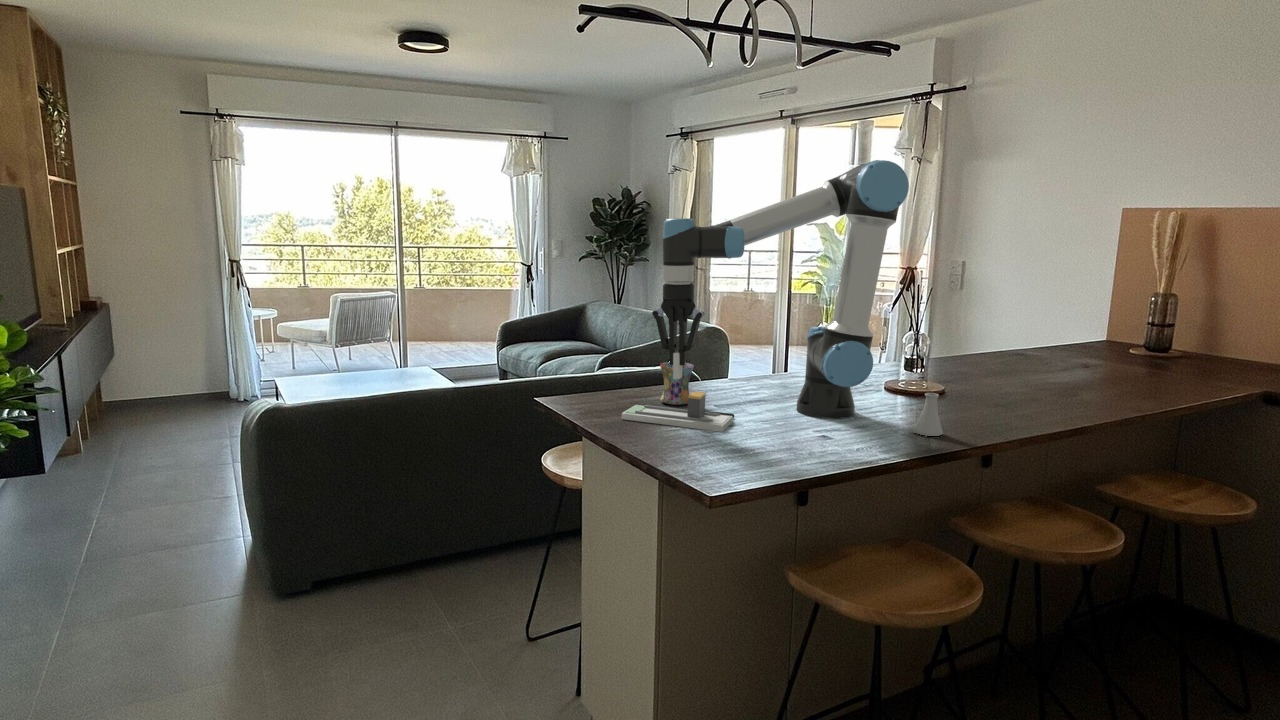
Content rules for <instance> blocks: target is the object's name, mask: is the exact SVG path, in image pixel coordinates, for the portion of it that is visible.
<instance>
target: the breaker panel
mask: <svg viewBox="0 0 1280 720" xmlns="http://www.w3.org/2000/svg"><path fill="white" fill-rule="evenodd" d="M666 407H667V406H659V407H658V405H649V404H645V405H643V406H642V404H641V405H640V404H635V405H634V406H633V405H632V406H631V407H630V408H628V409H626V410H624V411H623V412H621V420H626V421H635V422H641V423H642V422H643V423H649V424H650V423H651V424H659V425H666V426H675V427H680V428H681V427H683V428H690V429H698V430H707V431H714V432H721V433H723V432H724V431H725V430H726V429H728V427H729V426H730V425H731V424H732V423H733V419H734V418H733V416H726V415H720V414H717V413H709V412H705V415H704V416H702V417H701V418H693V417H687V414H688V410H683V409H684V408H680V409H675V408H676V407H670V408H666Z"/></svg>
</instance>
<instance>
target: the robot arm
mask: <svg viewBox="0 0 1280 720" xmlns="http://www.w3.org/2000/svg"><path fill="white" fill-rule="evenodd" d="M908 178H909V177H908V175H907V173H906V172H905V170H904V169H903V167H902V166H900V165H898V163H896V162H894V161H891V160H883V159H882V160H879V159H877V160H876V159H875V160H872V161H870V162H866V163H862V164H859V165H857V166H855V167H853V168H852V169H849V170H848V171H845V172H844V173H842V174H840V175H838V176H835V177H833V178H830V179H828V180H825V181H824V184H822V186H820V187H818V188H815V189H812V190H809V191H806V192H804V193H801V194H797V195H796V196H792V197H789V198H787V199H784V200H780V201H778V202H776V203H773V204H770V205H767V206H765V207H762V208H759V209H757V210H754V211H751V212H748V213H746V214H741V215H739V216H737V217H734V218H732V219H729V220H726V221H723V222H721V223H718V224H715V225H714V224H713V225H711V226H699V225H698V226H696V224H695V220H694V219H693V218H666V219H665V220H664V221H663V228H662V281H663V282H664V283H663V285H662V302H661V305H660V307H659V308H658V309H655V310H652V314H651V315H652V316H653V318H654V319H655V321H656V326H657V329H658V335H659V339H660V343H661V347H662V349H663V350H666V351H668V352H669V362H670V365H673V379H680V378H682V365H685V364H686V363H687V352H689V351H691V350H693V349H694V347H695V343H696V339H697V336H698V335H697V334H698V331H699V328H700V323H701V320H702V319H703V318H704V316H705V312H704V311H700V310H699V309H697V308H696V306H697V305H696V304H695V302H694V300H695V299H694V296H695V295H694V294H695V293H694V291H695V284H693V283H692V282H694V281H695V279H694V278H695V265H694V264H695V259H729V260H731V259H736V258H737V259H738V258H742V256H743V255H744V253H745V246H748V245H751V244H754V243H756V242H759V241H762V240H765V239H767V238H771V237H773V236H776V235H779V234H782V233H784V232H788V231H790V230H792V229H795V228H799V227H802V226H805V225H807V224H810V223H813V222H815V221H818V220H822V219H823V218H825V219H826V218H827V217H830V216H833V217H834V218H835V217H836V218H840V217H842V216H846V218H847V219H848V221H849V222H850V227H849V234H848V238H847V239H848V240H847V242H846V243H847V244H846V249H845V253H844V259H843V264H842V268H841V269H842V270H841V275H840V281H839V286H838V291H837V296H836V300H835V301H836V302H835V307H834V312H833V318H832V321H830V322H829V323H828V324H827V325H825V326H812V327H810V328H809V330H808V335H807V339H806V340H807V349H806V363H805V377H804V384H803V387H802V389H801V390H800V394H799V396H798V398H797V400H796V411H797V412H798V413H801V414H802V415H806V416H810V417H815V418H823V419H846V418H851V417H853V416H855V411H856V410H855V407H856V405H855V402H854V397H853V393H852V389H851V388H853V387H856V386H858V385H861V384H862V383H864V382H865V381H866V380H867V379H868V378H869V376H870V375H871V373H872V371H873V368H874V358H873V354H872V351H871V347H872V343H873V339H874V334H873V332H872V331H871V329H870V327H869V325H870V320H871V314H872V311H873V310H872V309H873V304H874V301H875V300H874V299H875V295H876V290H877V284H878V280H879V275H880V269H881V264H882V259H883V255H884V250H885V245H886V240H887V233H888V230H889V228H890V227H891V226H893V225H895V224H896V222H897V218H898V213H899V209H900V206H902V204H903V203H904V201H906V198H907V196H908V194H909V188H910V184H909V179H908ZM664 314H665V316H666V317H667V319H668V332H667V326H666V322H665V317H664ZM691 316H692V317H693V320H692V323H691V327H690V331H689V334H688V329H687V328H688V319H689V318H690V317H691ZM678 325H679V326H678ZM678 333H679V334H678ZM677 343H678V344H677Z"/></svg>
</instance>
